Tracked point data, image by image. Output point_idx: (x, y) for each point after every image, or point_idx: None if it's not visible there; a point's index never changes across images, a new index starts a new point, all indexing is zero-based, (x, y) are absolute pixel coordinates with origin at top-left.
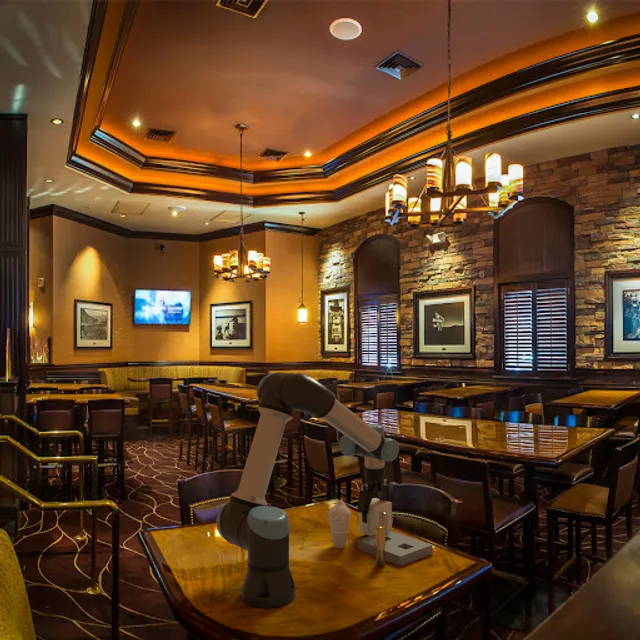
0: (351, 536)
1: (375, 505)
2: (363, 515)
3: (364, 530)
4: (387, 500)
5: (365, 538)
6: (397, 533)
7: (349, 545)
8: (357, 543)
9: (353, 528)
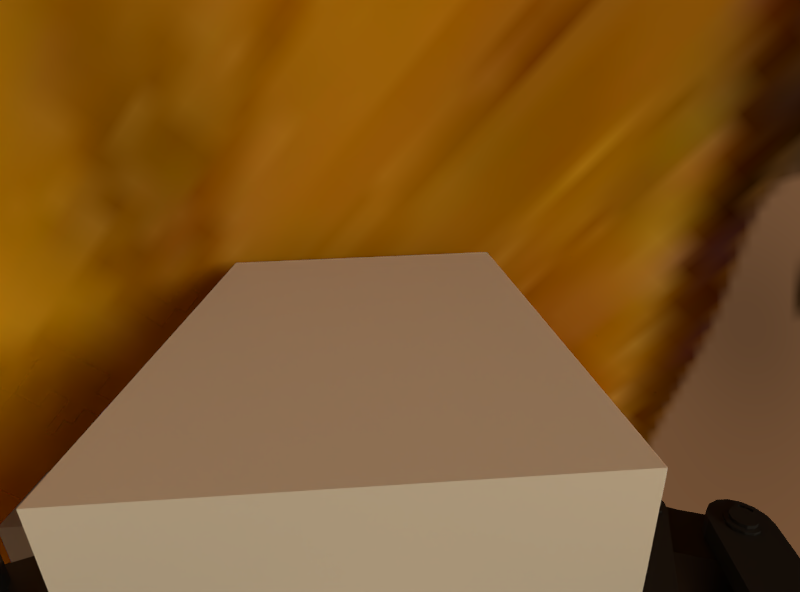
0: (166, 216)
1: None
2: None
3: None
4: (782, 579)
5: None
6: None
7: (21, 383)
8: (18, 504)
9: (345, 15)
